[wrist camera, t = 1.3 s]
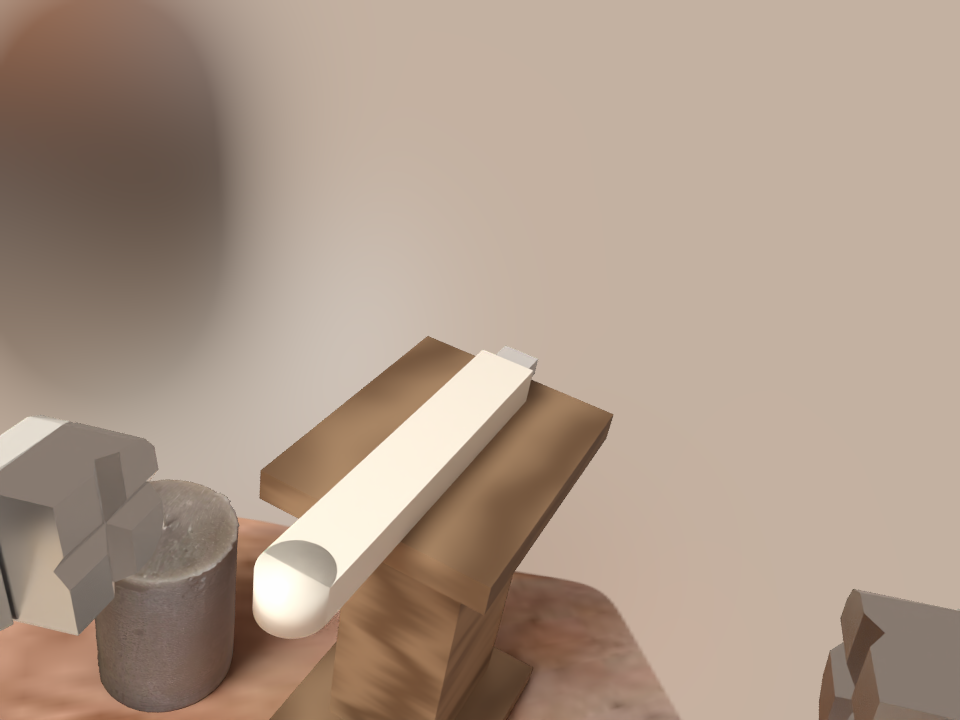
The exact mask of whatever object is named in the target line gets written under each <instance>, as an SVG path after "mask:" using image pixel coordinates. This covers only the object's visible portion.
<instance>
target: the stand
mask: <svg viewBox="0 0 960 720" xmlns="http://www.w3.org/2000/svg"><path fill="white" fill-rule="evenodd" d="M474 357H476V356H474V355H472V354H469V353H467V352H464V351H462V350H459V349H457V348H455V347H453V346H450V345H448V344H445V343H443V342H440V341H438V340H436V339H434V338H431V337H429V336H427V337H426V338H425V339H423V340H422V341H421V342H420V343H419V344H417V345H416V346H415V347H414V348H412V349H411V350H410V351H409V352H408V353H406V354H405V355H404V356H402V357H401V358H400V359H399V360H398V361H396V362H395V363H394V364H393V365H391V366H390V367H389V368H388V369H386V370H385V371H384V372H383V373H381V374H380V375H379V376H378V377H376V378H375V379H374V380H373V381H371V382H370V383H369V384H368V385H366V386H365V387H364V388H363V389H361V390H360V391H359V392H358V393H356V394H355V395H354V396H353V397H351V398H350V399H349V400H348V401H346V402H345V403H344V404H343V405H341V406H340V407H339V408H338V409H337V410H335V411H334V412H333V413H332V414H330V415H329V416H328V417H327V418H325V419H324V420H323V421H322V422H320V423H319V424H318V425H317V426H316V427H314V428H313V429H312V430H310V431H309V432H308V433H307V434H306V435H304V436H303V437H302V438H300V439H299V440H298V441H297V442H296V443H294V444H293V445H292V446H291V447H289V448H288V449H287V450H286V451H284V452H283V453H282V454H281V455H279V456H278V457H277V458H276V459H274V460H273V461H272V462H271V463H269V464H268V465H267V466H266V467H265V468H263V469H262V470H261V476H260V499H262V500H264V501H266V502H268V503H270V504H272V505H274V506H275V507H277V508H279V509H281V510H283V511H285V512H287V513H289V514H291V515H293V516H295V517H297V518H298V519H299V518H301V517H302V516H303V515H304V514H305V513H306V512H307V511H308V510H309V509H310V508H311V507H312V506H314V505H315V504H316V503H317V502H318V501H319V500H320V499H321V498H322V497H323V496H324V495H326V494H327V493H328V492H329V491H330V490H331V489H332V488H333V487H334V486H335V485H336V484H337V483H339V482H340V481H341V480H342V479H343V478H344V477H345V476H346V475H347V474H348V473H349V472H351V471H352V470H353V469H354V468H355V467H356V466H357V465H358V464H359V463H360V462H361V461H362V460H364V459H365V458H366V457H367V456H368V455H369V454H370V453H371V452H372V451H373V450H374V449H376V448H377V447H378V446H379V445H380V444H381V443H382V442H383V441H384V440H385V439H386V438H387V437H389V436H390V435H391V434H392V433H393V432H394V431H395V430H396V429H397V428H398V427H399V426H401V425H402V424H403V423H404V422H405V421H406V420H407V419H408V418H409V417H410V416H411V415H412V414H414V413H415V412H416V411H417V410H418V409H419V408H420V407H421V406H422V405H423V404H424V403H426V402H427V401H428V400H429V399H430V398H431V397H432V396H433V395H434V394H435V393H436V392H437V391H439V390H440V389H441V388H442V387H443V386H444V385H445V384H446V383H447V382H448V381H449V380H451V379H452V378H453V377H454V376H455V375H456V374H457V373H458V372H459V371H460V370H461V369H462V368H464V367H465V366H466V365H467V364H468V363H469V362H470V361H471V360H472V359H473V358H474ZM612 418H613V414H611V413H609V412H607V411H604V410H602V409H599V408H597V407H595V406H592V405H590V404H588V403H585V402H583V401H580V400H578V399H576V398H573V397H571V396H568V395H566V394H564V393H561V392H559V391H557V390H554V389H552V388H549V387H547V386H545V385H543V384H540V383H538V382H535V381H533V380H531V382H530V387H529V391H528V395H527V399H526V402H525V403H524V404H523V405H522V406H521V407H520V408H519V410H518V411H517V412H516V413H515V414H514V415H513V416H512V417H511V419H510V420H509V421H508V422H507V423H506V424H505V425H504V426H503V428H502V429H501V430H500V431H499V432H498V433H497V434H496V435H495V436H494V438H493V439H492V440H491V441H490V442H489V443H488V444H487V445H486V447H485V448H484V449H483V450H482V451H481V452H480V453H479V454H478V455H477V457H476V458H475V459H474V460H473V461H472V462H471V463H470V464H469V466H468V467H467V468H466V469H465V470H464V471H463V472H462V473H461V474H460V476H459V477H458V478H457V479H456V480H455V481H454V482H453V483H452V485H451V486H450V487H449V488H448V489H447V490H446V491H445V492H444V493H443V495H442V496H441V497H440V498H439V499H438V500H437V501H436V502H435V504H434V505H433V506H432V507H431V508H430V509H429V510H428V511H427V512H426V514H425V515H424V516H423V517H422V518H421V519H420V520H419V521H418V523H417V524H416V525H415V526H414V527H413V528H412V529H411V530H410V531H409V533H408V534H407V535H406V536H405V537H404V538H403V539H402V540H401V542H400V543H399V544H398V545H397V546H396V547H395V548H394V549H393V550H392V552H391V553H390V554H389V555H388V556H387V557H386V558H385V559H384V561H383V562H382V563H381V564H380V565H379V566H378V567H377V568H376V569H375V571H374V572H373V573H372V574H371V575H370V576H369V577H368V578H367V580H366V581H365V582H364V583H363V584H362V585H361V586H360V587H359V588H358V590H357V591H356V592H355V593H354V594H353V595H352V596H351V597H350V599H349V600H348V601H347V602H346V603H345V604H344V605H343V606H342V607H341V610H340V618H339V627H338V635H337V642H336V643H335V644H334V645H333V646H332V648H331V649H330V650H329V651H328V652H327V653H326V655H325V656H324V657H323V658H322V659H321V660H320V661H319V663H318V664H317V665H316V666H315V667H314V668H313V670H312V671H311V672H310V673H309V674H308V675H307V677H306V678H305V679H304V680H303V681H302V682H301V684H300V685H299V686H298V687H297V688H296V689H295V691H294V692H293V693H292V694H291V695H290V696H289V698H288V699H287V700H286V701H285V702H284V703H283V704H282V706H281V707H280V708H279V709H278V710H277V711H276V713H275V714H274V715H273V716H272V717H271V718H270V720H506V719H507V718H508V716H509V714H510V712H511V711H512V709H513V707H514V705H515V704H516V702H517V700H518V698H519V697H520V695H521V693H522V692H523V690H524V688H525V686H526V685H527V683H528V681H529V679H530V676H531V673H532V669H533V667H531V666H529V665H528V664H526V663H524V662H522V661H520V660H518V659H516V658H514V657H513V656H511V655H509V654H507V653H505V652H503V651H501V650H499V649H498V648H496V647H494V644H495V640H496V636H497V632H498V628H499V625H500V621H501V617H502V613H503V609H504V606H505V602H506V598H507V594H508V590H509V587H510V583H511V579H512V575H513V573H514V571H515V570H516V568H517V567H518V566H519V564H520V563H521V561H522V560H523V558H524V557H525V555H526V554H527V553H528V551H529V550H530V548H531V547H532V545H533V544H534V542H535V541H536V540H537V538H538V537H539V535H540V534H541V532H542V531H543V529H544V528H545V526H546V525H547V524H548V522H549V521H550V519H551V518H552V516H553V515H554V513H555V512H556V511H557V509H558V507H559V506H560V505H561V503H562V502H563V500H564V499H565V497H566V496H567V494H568V493H569V492H570V490H571V489H572V487H573V486H574V484H575V483H576V481H577V480H578V479H579V477H580V476H581V474H582V473H583V471H584V470H585V468H586V467H587V466H588V464H589V462H590V461H591V460H592V458H593V457H594V455H595V454H596V452H597V451H598V449H599V448H600V447H601V445H602V443H603V442H604V441H605V439H606V437H607V434H608V431H609V428H610V424H611V421H612Z"/></svg>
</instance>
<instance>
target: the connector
mask: <svg viewBox="0 0 960 720" xmlns="http://www.w3.org/2000/svg"><path fill="white" fill-rule="evenodd" d="M537 361H538V359H537V358H535V357H532V356H530V355H527V354H525V353H523V352H520V351H518V350H515V349H513V348H511V347H508V346H505V347H504V348H503V349H502V350H501V351H499V352H498V353H497V354H496V355H495V354H492V353H490V352H488V351H485V350H482V351H481V352H480V353H479V354H478V355H477V356H476V357H474V358H473V359H472V360H471V361H470V362H469V363H468V364H467V365H466V366H465V367H464V368H462V369H461V370H460V371H459V372H458V373H457V374H456V375H455V376H454V377H453V378H452V379H451V380H449V381H448V382H447V383H446V384H445V385H444V386H443V387H442V388H441V389H440V390H439V391H437V392H436V393H435V394H434V395H433V396H432V397H431V398H430V399H429V400H428V401H427V402H426V403H424V404H423V405H422V406H421V407H420V408H419V409H418V410H417V411H416V412H415V413H414V414H412V415H411V416H410V417H409V418H408V419H407V420H406V421H405V422H404V423H403V424H402V425H401V426H399V427H398V428H397V429H396V430H395V431H394V432H393V433H392V434H391V435H390V436H389V437H387V438H386V439H385V440H384V441H383V442H382V443H381V444H380V445H379V446H378V447H377V448H376V449H374V450H373V451H372V452H371V453H370V454H369V455H368V456H367V457H366V458H365V459H364V460H362V461H361V462H360V463H359V464H358V465H357V466H356V467H355V468H354V469H353V470H352V471H351V472H349V473H348V474H347V475H346V476H345V477H344V478H343V479H342V480H341V481H340V482H339V483H337V484H336V485H335V486H334V487H333V488H332V489H331V490H330V491H329V492H328V493H327V494H326V495H324V496H323V497H322V498H321V499H320V500H319V501H318V502H317V503H316V504H315V505H314V506H312V507H311V508H310V509H309V510H308V511H307V512H306V513H305V514H304V515H303V516H302V517H301V518H299V519H298V520H297V521H296V522H295V523H294V524H293V525H292V526H291V527H290V528H289V529H287V530H286V531H285V532H284V533H283V534H282V535H281V536H280V537H279V538H278V539H277V540H276V541H274V542H273V543H272V544H271V545H270V546H269V547H268V548H267V549H266V550H265V551H264V552H263V553H262V554H261V555H260V556H259V557H258V559H257V561H256V563H255V566H254V580H253V606H252V609H253V616H254V618H255V621H256V622H257V624H258V625H259V626H260V627H261V628H262V629H263V630H264V631H266V632H267V633H269V634H271V635H273V636H276V637H280V638H285V639H298V638H304V637H307V636H310V635H312V634H315V633H316V632H318V631H320V630H321V629H322V628H323V627H324V626H325V625H326V624H327V623H328V622H329V621H330V620H331V619H332V618H333V616H334V615H335V614H336V613H337V612H338V611H339V610H340V609H341V607H342V606H343V605H344V604H345V603H346V602H347V601H348V600H349V599H350V597H351V596H352V595H353V594H354V593H355V592H356V591H357V590H358V588H359V587H360V586H361V585H362V584H363V583H364V582H365V581H366V580H367V578H368V577H369V576H370V575H371V574H372V573H373V572H374V571H375V569H376V568H377V567H378V566H379V565H380V564H381V563H382V562H383V561H384V559H385V558H386V557H387V556H388V555H389V554H390V553H391V552H392V550H393V549H394V548H395V547H396V546H397V545H398V544H399V543H400V542H401V540H402V539H403V538H404V537H405V536H406V535H407V534H408V533H409V531H410V530H411V529H412V528H413V527H414V526H415V525H416V524H417V523H418V521H419V520H420V519H421V518H422V517H423V516H424V515H425V514H426V512H427V511H428V510H429V509H430V508H431V507H432V506H433V505H434V504H435V502H436V501H437V500H438V499H439V498H440V497H441V496H442V495H443V493H444V492H445V491H446V490H447V489H448V488H449V487H450V486H451V485H452V483H453V482H454V481H455V480H456V479H457V478H458V477H459V476H460V474H461V473H462V472H463V471H464V470H465V469H466V468H467V467H468V466H469V464H470V463H471V462H472V461H473V460H474V459H475V458H476V457H477V455H478V454H479V453H480V452H481V451H482V450H483V449H484V448H485V447H486V445H487V444H488V443H489V442H490V441H491V440H492V439H493V438H494V436H495V435H496V434H497V433H498V432H499V431H500V430H501V429H502V428H503V426H504V425H505V424H506V423H507V422H508V421H509V420H510V419H511V417H512V416H513V415H514V414H515V413H516V412H517V411H518V410H519V408H520V407H521V406H522V405H523V404H524V403H525V402H526V399H527V395H528V391H529V387H530V382H531V378H532V376H533V375H534V374H535V369H536V365H537Z"/></svg>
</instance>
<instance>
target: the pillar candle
mask: <svg viewBox="0 0 960 720" xmlns="http://www.w3.org/2000/svg"><path fill="white" fill-rule="evenodd" d="M150 484H151V485H152V486H153V488H154V489H155V491H156V492H157V493H158V495H159V496H160V497H161V499H162V502H163V511H164V521H163V528H162V535H161V537H160V540H159V542H158V544H157V546H156V548H155V551H154V553H153V555H152V557H151V558H150V559H149V560H148V562H147V563H146V564H145V565H144V566H143V567H142V568H141V569H140V571H139V572H138V573H136V574H134V575H131V576H129V577H126V578H124V579H121V580H119V581H117V582H115V595H114V598H113V600H112V601H111V602H110V603H109V604H108V605H107V606H106V607H105V608H104V609H103V610H102V611H101V612H100V613H99V614H98V615H97V616H96V618H95V624H96V639H97V646H98V648H97V649H98V666H99V673H100V679H101V682H102V684H103V685H104V687H105V689H106V690H107V692H108V693H109V694H110V695H111V696H112V697H113V698H114V699H116V700H117V701H118V702H120V703H122V704H124V705H126V706H127V707H130V708H132V709H135V710H139V711H146V712H166V711H172V710H177V709H181V708H184V707H187V706H189V705H192V704H194V703H196V702H198V701H200V700H201V699H203V698H204V697H206V696H207V695H208V694H210V693H211V692H213V691H214V690H215V689H216V688H217V687H218V686H219V684H220V683H221V682H222V681H223V679H224V678H225V676H226V674H227V672H228V670H229V667H230V664H231V660H232V655H233V645H234V623H235V594H236V564H237V541H238V527H239V523H238V520H237V516H236V513H235V510H234V509H233V507H232V506H231V505H230V501H229V500H228V497H226V496H225V495H223V494H221V493H216V492H215V491H214V490H211V489H210V488H208V487H204V486H202V485H199V484H196V483H193V482H188V481H180V480H159V481H152V482H150Z"/></svg>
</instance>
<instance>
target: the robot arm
mask: <svg viewBox="0 0 960 720" xmlns="http://www.w3.org/2000/svg"><path fill="white" fill-rule="evenodd" d="M157 471H158V465H157V459H156V454H155V448H154V446H153V445H152V444H151V443H149V442H148V441H147V440H146V439H144V438H140V437H136V436H132V435H127V434H123V433H119V432H114V431H110V430H106V429H102V428H97V427H93V426H89V425H85V424H81V423H73V422H70V421H66V420H61V419H57V418H53V417H48V416H44V415H40V416H29V417H27V418H25V419H24V420H22V421H21V422H19V423H18V424H16V425H15V426H14V427H12V428H11V429H9V430H8V431H6V432H5V433H3V434H2V435H0V631H1V630H3V629H5V628H7V627H9V626H11V625H13V621H18V622H22V623H26V624H31V625H35V626H39V627H43V628H48V629H52V630H56V631H61V632H65V633H69V634H73V635H78V636H79V634H80V633H81V632H82V631H83V630H84V629H85V628H86V627H87V626H88V625H89V624H90V623H91V622H92V621H93V620H94V619H95V618H96V616H97V615H98V614H99V613H100V612H101V611H102V610H103V609H104V608H105V607H106V606H107V605H108V604H109V603H110V602H111V601H112V600H113V598H114V595H115V582H117V581H119V580H121V579H124V578H126V577H129V576H131V575H134V574H136V573H138V572H139V571H140V569H141V568H142V567H143V566H144V565H145V564H146V563H147V562H148V560H149V559H150V558H151V557H152V555H153V553H154V551H155V548H156V546H157V544H158V542H159V540H160V537H161V535H162V528H163V521H164V511H163V502H162V499H161V497H160V496H159V495H158V493H157V492H156V491H155V489H154V488H153V486H152V485H151V484H150V482H149V481H150V480H151V479H152V477H153V476H154V475H155V473H156V472H157ZM841 626H842V633H843V641H844V642H843V643H842V644H840V645H838V646H837V647H835V648H834V649H832V650H830V653H829V656H828V660H827V663H826V667H825V670H824V674H823V679H822V686H821V692H820V699H819V720H960V609H957V610H952V609H948V608H943V607H938V606H933V605H928V604H924V603H919V602H914V601H909V600H905V599H899V598H894V597H890V596H885V595H880V594H876V593H871V592H866V591H861V590H856V589H853V590H852V592H851V594H850V595H849V597H848V599H847V601H846V604H845V607H844V610H843V613H842V616H841Z"/></svg>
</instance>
